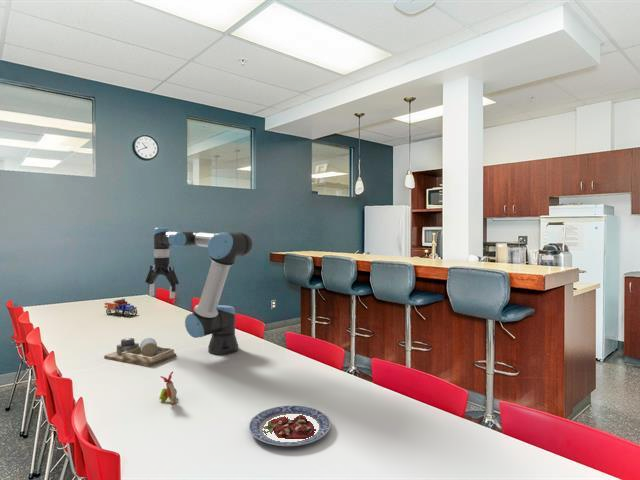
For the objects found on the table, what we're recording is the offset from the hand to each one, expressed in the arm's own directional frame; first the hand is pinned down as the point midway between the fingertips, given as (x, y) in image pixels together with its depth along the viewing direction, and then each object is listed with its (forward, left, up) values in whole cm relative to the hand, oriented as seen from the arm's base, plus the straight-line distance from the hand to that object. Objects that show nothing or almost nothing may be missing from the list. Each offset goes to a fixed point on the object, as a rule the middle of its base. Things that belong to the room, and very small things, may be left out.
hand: (161, 297), depth 215 cm
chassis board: (-4, +18, -26) cm, 32 cm away
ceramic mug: (-10, +16, -25) cm, 31 cm away
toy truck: (+83, -45, -27) cm, 98 cm away
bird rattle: (-54, +51, -26) cm, 79 cm away
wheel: (+5, +18, -25) cm, 31 cm away
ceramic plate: (-103, +51, -27) cm, 118 cm away
